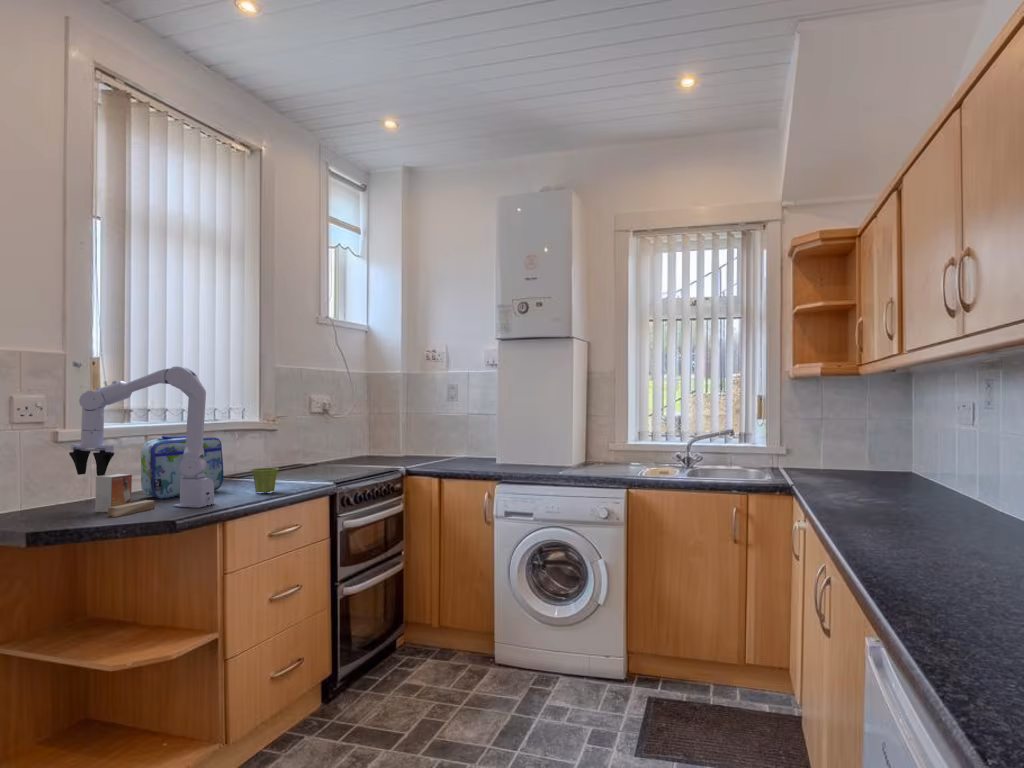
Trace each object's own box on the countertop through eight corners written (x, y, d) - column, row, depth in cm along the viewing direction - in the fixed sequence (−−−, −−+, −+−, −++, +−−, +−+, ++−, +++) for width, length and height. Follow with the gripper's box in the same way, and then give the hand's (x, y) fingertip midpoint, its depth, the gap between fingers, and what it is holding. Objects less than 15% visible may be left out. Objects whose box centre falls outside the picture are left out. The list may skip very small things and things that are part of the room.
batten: (154, 508, 194) (154, 500, 194) (116, 516, 181) (116, 508, 181) (146, 508, 195) (146, 500, 195) (107, 516, 181) (107, 507, 181)
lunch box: (152, 501, 209) (153, 437, 209) (136, 498, 215) (137, 436, 215) (226, 491, 230) (227, 434, 231) (209, 489, 236) (210, 433, 237)
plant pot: (244, 494, 225) (245, 469, 225) (264, 490, 234) (264, 467, 234) (265, 495, 221) (265, 470, 222) (284, 492, 230) (284, 468, 230)
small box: (110, 512, 187) (111, 477, 187) (94, 512, 188) (95, 476, 189) (131, 508, 195) (132, 474, 195) (116, 507, 196) (117, 473, 196)
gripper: (61, 430, 192) (60, 475, 191) (99, 431, 188) (98, 477, 187) (83, 429, 199) (81, 472, 198) (120, 430, 195) (118, 474, 194)
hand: (91, 474), depth 193 cm, fingers open, 7 cm apart
